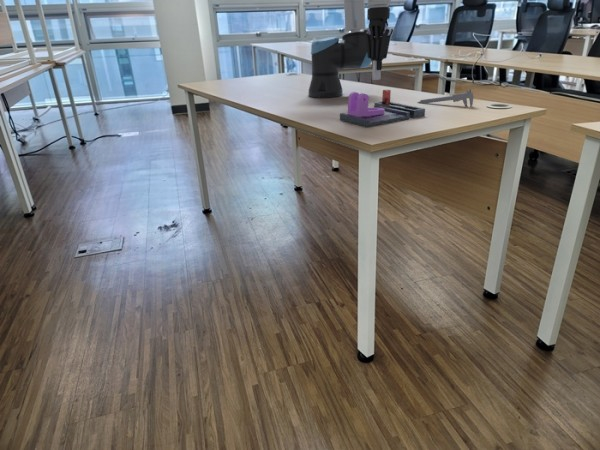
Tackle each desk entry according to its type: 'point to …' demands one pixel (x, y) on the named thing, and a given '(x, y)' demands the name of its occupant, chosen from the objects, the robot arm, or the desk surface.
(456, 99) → the caliper
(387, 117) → the press bed
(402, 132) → the desk surface
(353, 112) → the bracket
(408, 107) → the frame
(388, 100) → the lever
